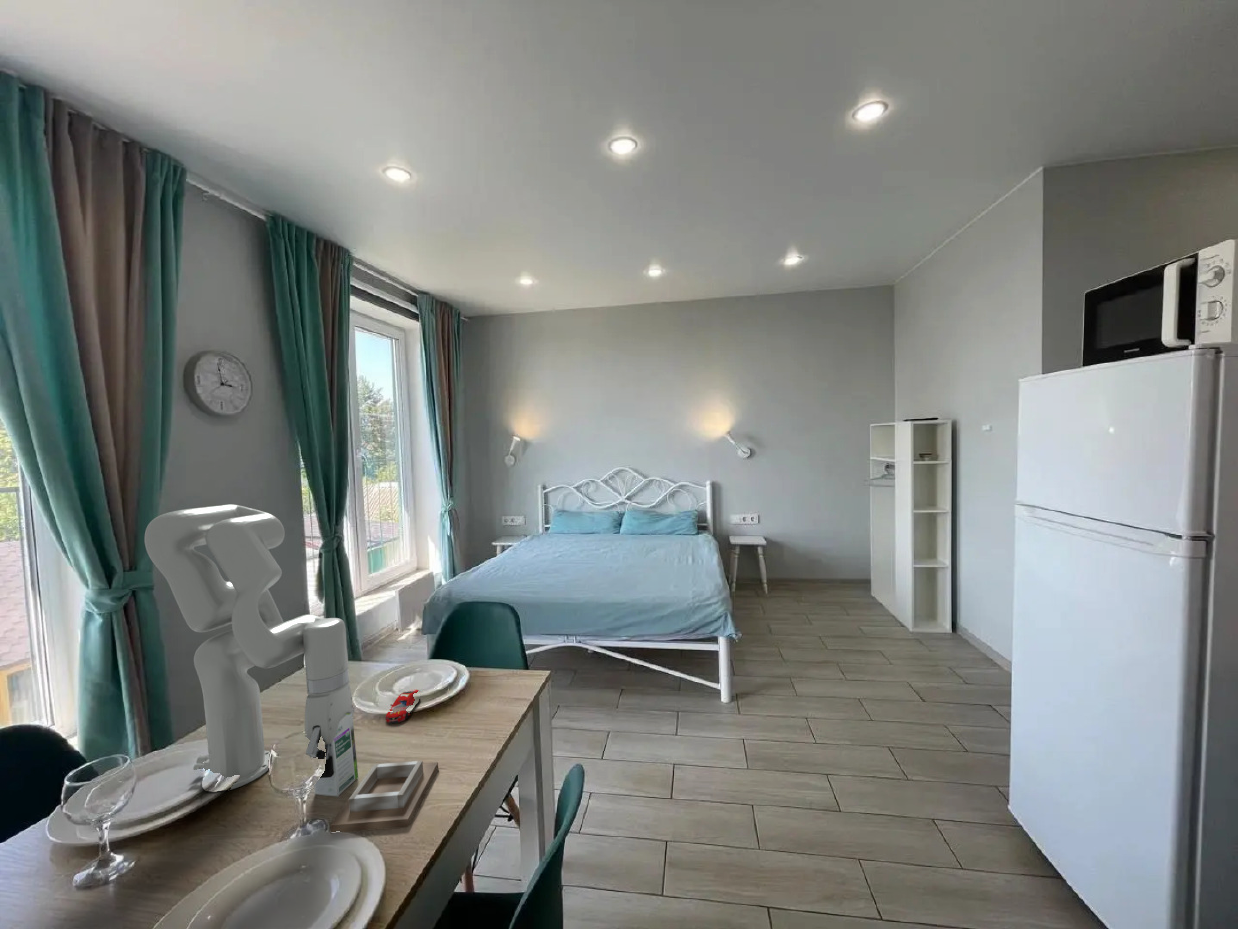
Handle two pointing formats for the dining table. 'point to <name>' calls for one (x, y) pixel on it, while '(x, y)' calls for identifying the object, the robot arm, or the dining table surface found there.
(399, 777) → the socket board
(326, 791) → the syrup box
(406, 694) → the race car
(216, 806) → the dining table surface
